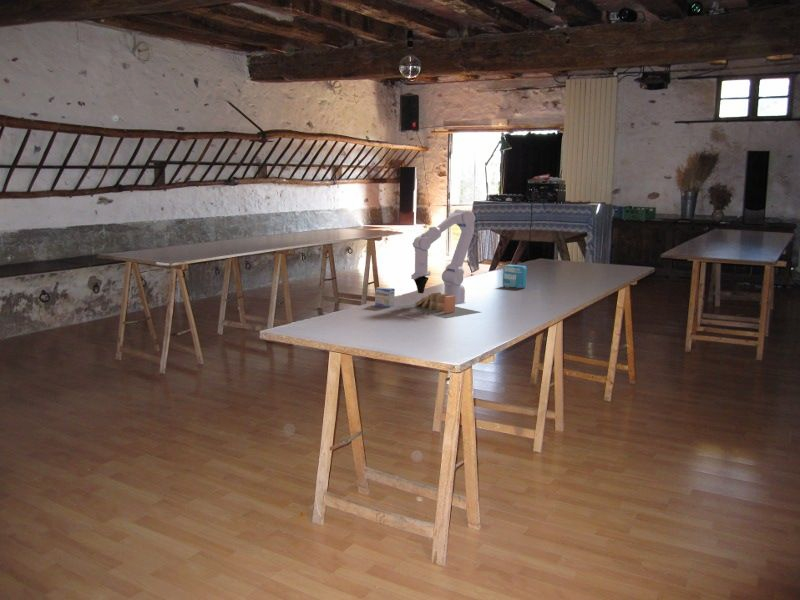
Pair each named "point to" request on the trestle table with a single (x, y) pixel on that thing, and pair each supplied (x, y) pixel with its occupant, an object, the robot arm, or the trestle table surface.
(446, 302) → the domino
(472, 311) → the mat
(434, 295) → the domino
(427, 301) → the domino
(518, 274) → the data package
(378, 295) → the medicine box
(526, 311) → the trestle table surface
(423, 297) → the domino
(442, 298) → the domino
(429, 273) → the robot arm
